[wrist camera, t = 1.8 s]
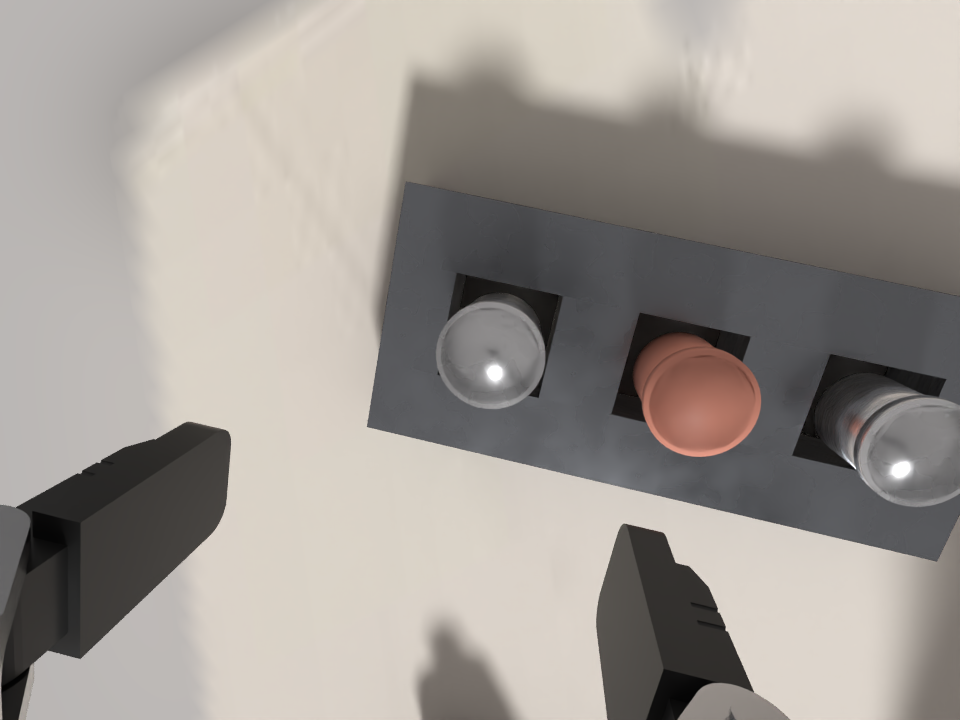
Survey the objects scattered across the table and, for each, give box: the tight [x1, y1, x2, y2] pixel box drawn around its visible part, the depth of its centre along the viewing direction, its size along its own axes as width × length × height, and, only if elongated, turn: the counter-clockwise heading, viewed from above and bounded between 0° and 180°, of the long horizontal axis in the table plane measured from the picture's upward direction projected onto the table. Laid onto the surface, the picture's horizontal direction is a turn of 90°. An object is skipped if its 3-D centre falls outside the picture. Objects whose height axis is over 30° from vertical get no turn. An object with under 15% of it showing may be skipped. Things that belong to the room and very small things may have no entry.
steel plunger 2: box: [814, 373, 960, 507], centre depth 24 cm, size 4×4×4 cm
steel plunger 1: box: [436, 293, 545, 409], centre depth 25 cm, size 4×4×4 cm
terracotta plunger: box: [633, 332, 761, 457], centre depth 24 cm, size 4×4×4 cm
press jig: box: [367, 182, 960, 561], centre depth 28 cm, size 12×28×4 cm, turn 79°
